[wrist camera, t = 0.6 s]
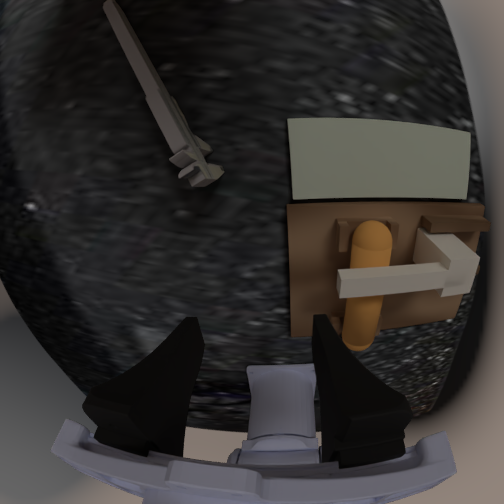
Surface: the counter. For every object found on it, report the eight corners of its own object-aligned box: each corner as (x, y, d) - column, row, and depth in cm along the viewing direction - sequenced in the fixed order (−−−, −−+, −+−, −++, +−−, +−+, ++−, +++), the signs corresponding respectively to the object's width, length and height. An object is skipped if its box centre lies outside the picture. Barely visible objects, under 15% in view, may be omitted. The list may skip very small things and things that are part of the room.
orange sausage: (367, 333, 24) (374, 355, 21) (338, 336, 24) (342, 359, 22) (385, 214, 19) (401, 229, 16) (348, 215, 19) (359, 230, 16)
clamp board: (451, 313, 24) (461, 328, 22) (290, 331, 26) (291, 350, 24) (480, 203, 19) (495, 213, 16) (286, 204, 21) (287, 215, 18)
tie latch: (438, 257, 21) (469, 292, 16) (326, 265, 22) (338, 308, 17) (444, 227, 19) (480, 257, 14) (327, 231, 20) (342, 268, 15)
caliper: (226, 170, 20) (207, 190, 15) (214, 177, 20) (192, 199, 15) (114, -3, 13) (74, -24, 7) (105, 4, 13) (64, -14, 8)
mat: (463, 197, 19) (466, 199, 18) (292, 197, 20) (293, 199, 20) (467, 132, 16) (470, 132, 15) (287, 119, 18) (287, 118, 17)
